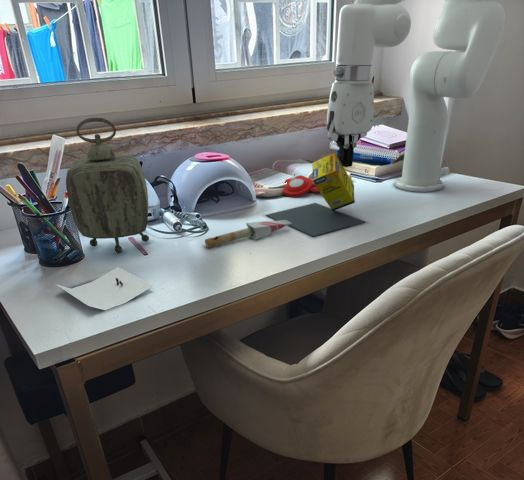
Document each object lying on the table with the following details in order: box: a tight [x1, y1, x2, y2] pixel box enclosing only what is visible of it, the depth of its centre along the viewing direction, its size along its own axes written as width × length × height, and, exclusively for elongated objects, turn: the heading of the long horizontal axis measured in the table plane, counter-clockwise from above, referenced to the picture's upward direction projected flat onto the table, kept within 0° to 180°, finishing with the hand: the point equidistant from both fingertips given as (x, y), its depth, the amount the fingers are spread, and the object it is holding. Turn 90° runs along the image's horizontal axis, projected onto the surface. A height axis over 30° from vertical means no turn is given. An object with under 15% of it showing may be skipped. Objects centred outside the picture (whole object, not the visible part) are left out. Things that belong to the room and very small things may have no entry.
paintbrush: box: [204, 220, 292, 249], centre depth 106 cm, size 4×3×20 cm
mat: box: [265, 202, 366, 238], centre depth 116 cm, size 15×18×1 cm
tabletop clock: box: [65, 117, 150, 254], centre depth 96 cm, size 14×9×25 cm, turn 100°
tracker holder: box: [281, 174, 321, 198], centre depth 133 cm, size 12×4×10 cm
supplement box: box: [311, 152, 356, 211], centre depth 115 cm, size 6×6×11 cm
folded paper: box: [55, 266, 154, 311], centre depth 86 cm, size 12×12×2 cm
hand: (344, 165), depth 115 cm, fingers closed
